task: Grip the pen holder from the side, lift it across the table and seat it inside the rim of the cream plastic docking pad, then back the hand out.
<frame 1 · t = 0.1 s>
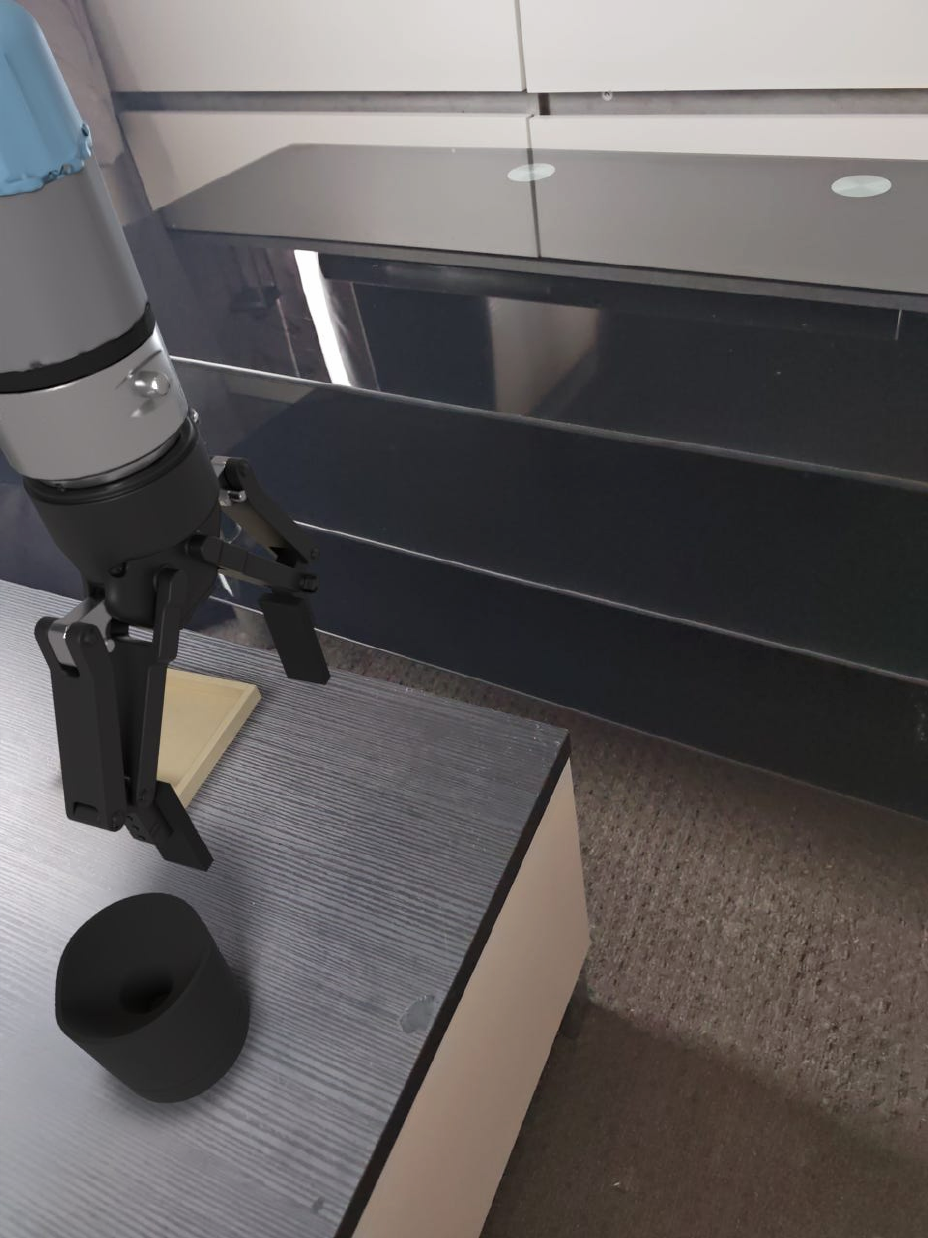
hand: (254, 761, 53), 19 cm above the table, tool pointing down, fingers open, 13 cm apart
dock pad: (168, 739, 81), on the table
pen holder: (188, 1038, 61), on the table
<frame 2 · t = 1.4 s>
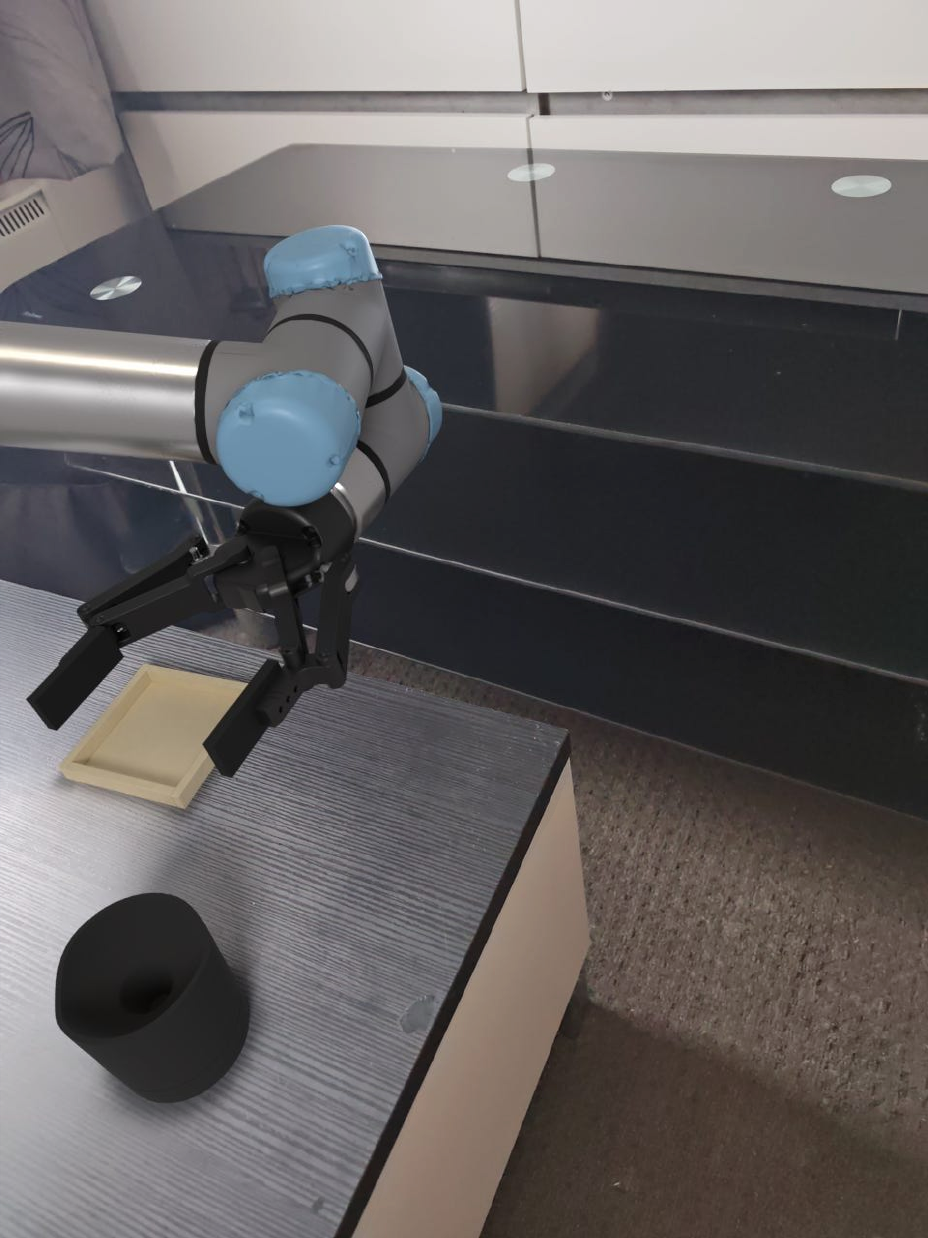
hand: (123, 737, 52), 21 cm above the table, tool horizontal, fingers open, 13 cm apart
nothing on the table moved.
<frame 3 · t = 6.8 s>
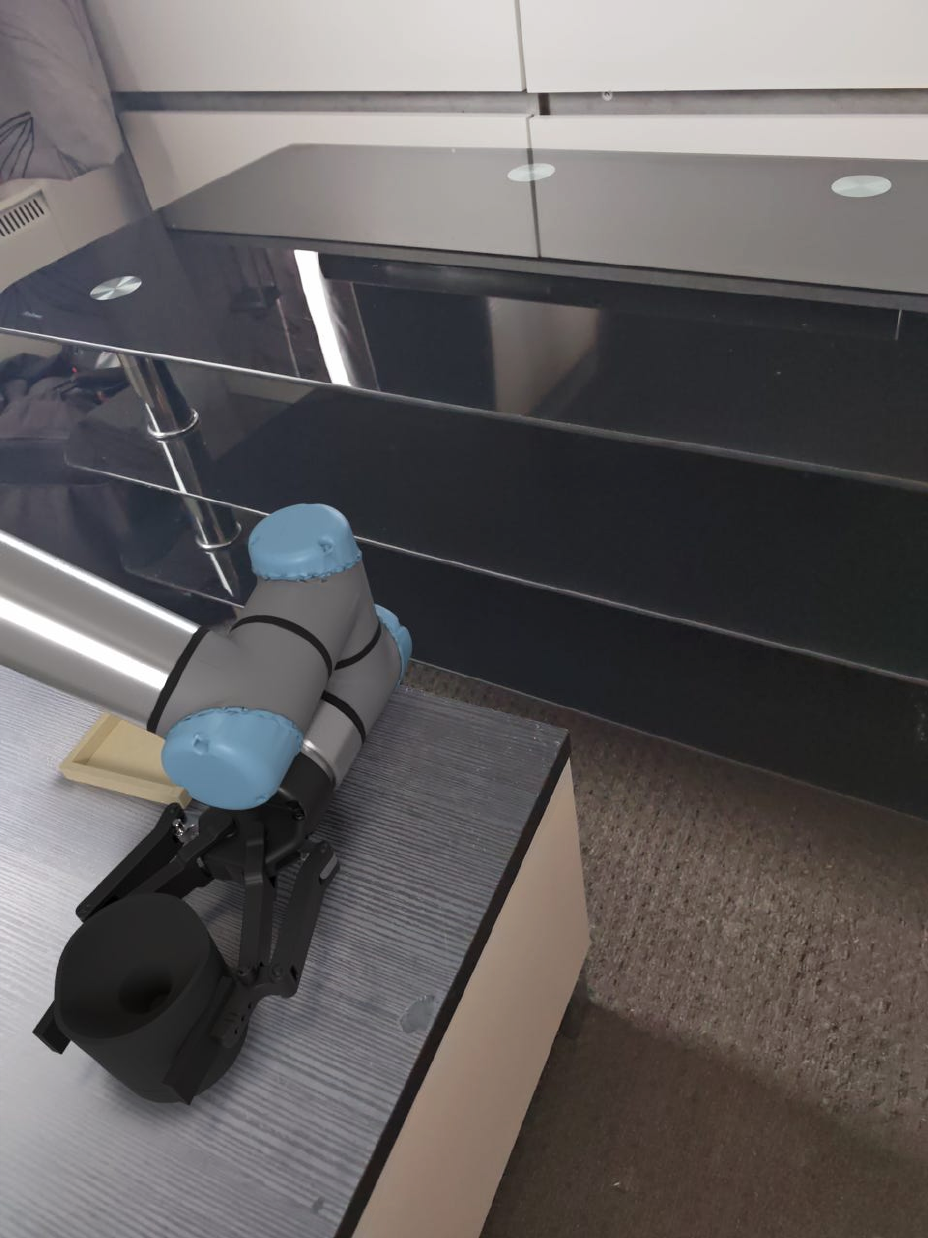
hand: (109, 1068, 54), 6 cm above the table, tool horizontal, fingers closed on pen holder, 9 cm apart
pen holder: (188, 1038, 61), on the table, touching gripper
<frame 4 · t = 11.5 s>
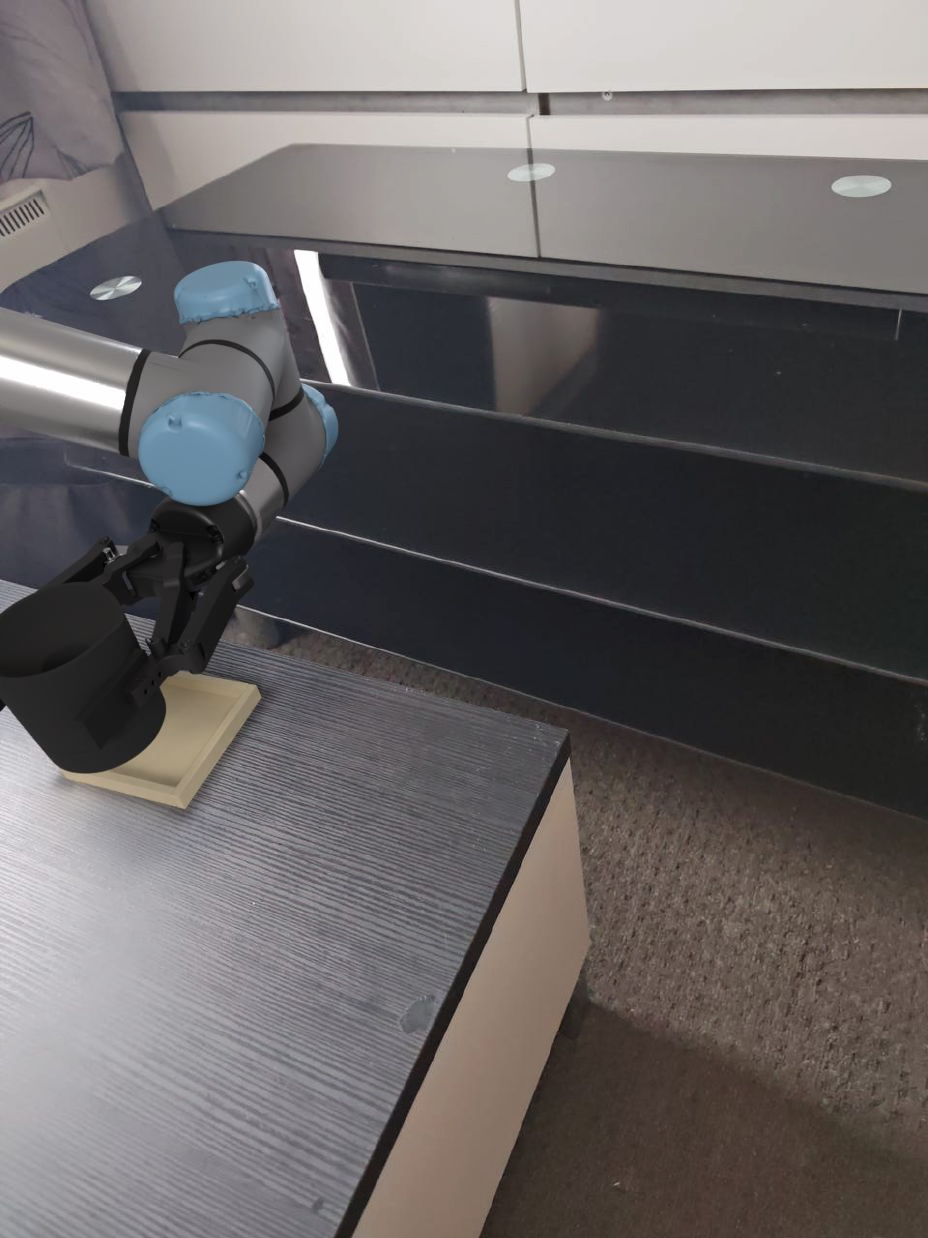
hand: (30, 721, 59), 18 cm above the table, tool horizontal, fingers closed on pen holder, 9 cm apart
pen holder: (111, 731, 66), point 12 cm above the table, touching gripper
when the fingers open (6 cm above the table, at t = 16.4 s): pen holder stays where it is, resting on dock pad.
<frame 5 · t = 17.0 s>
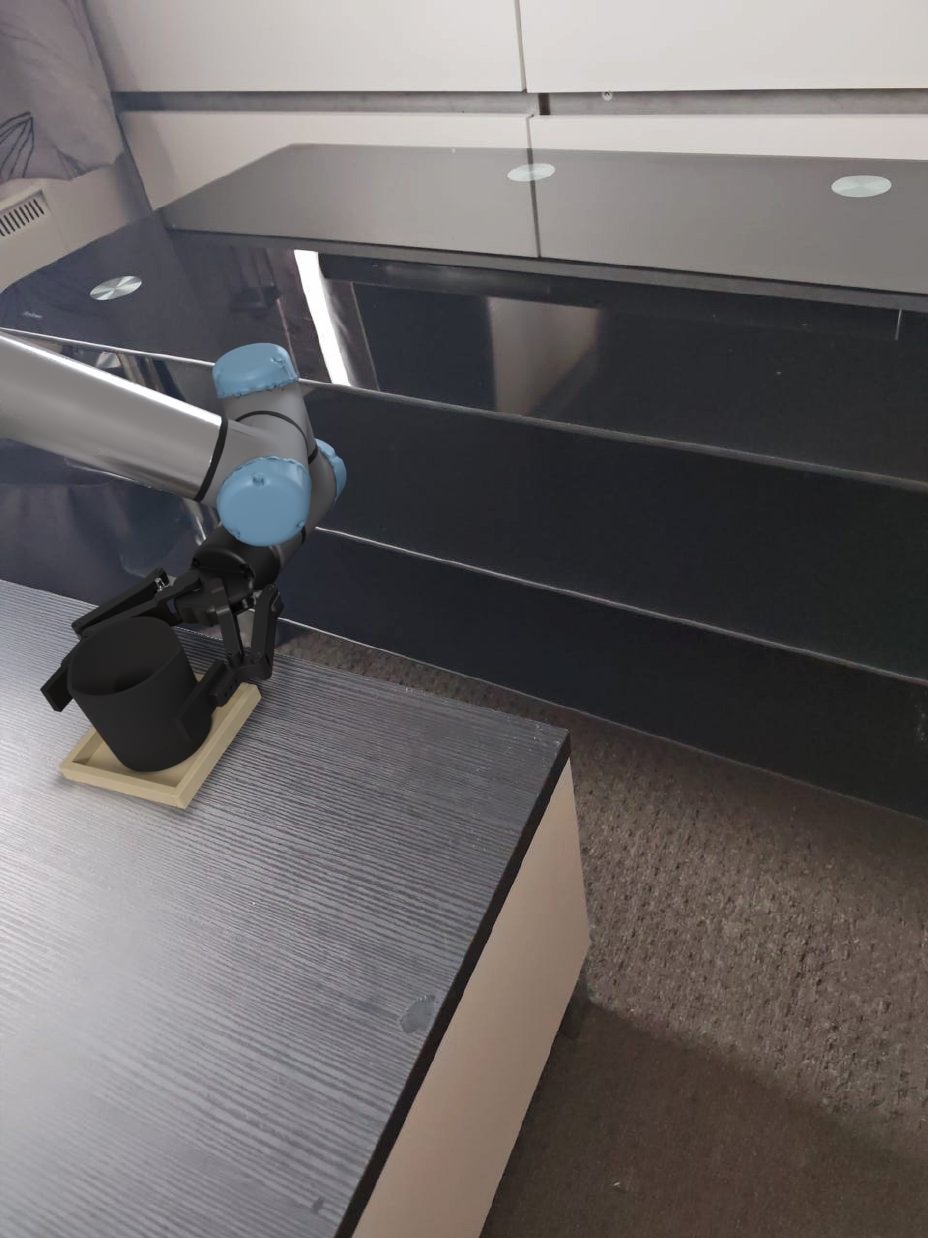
hand: (113, 715, 74), 7 cm above the table, tool horizontal, fingers open, 13 cm apart
pen holder: (166, 737, 81), resting on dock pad
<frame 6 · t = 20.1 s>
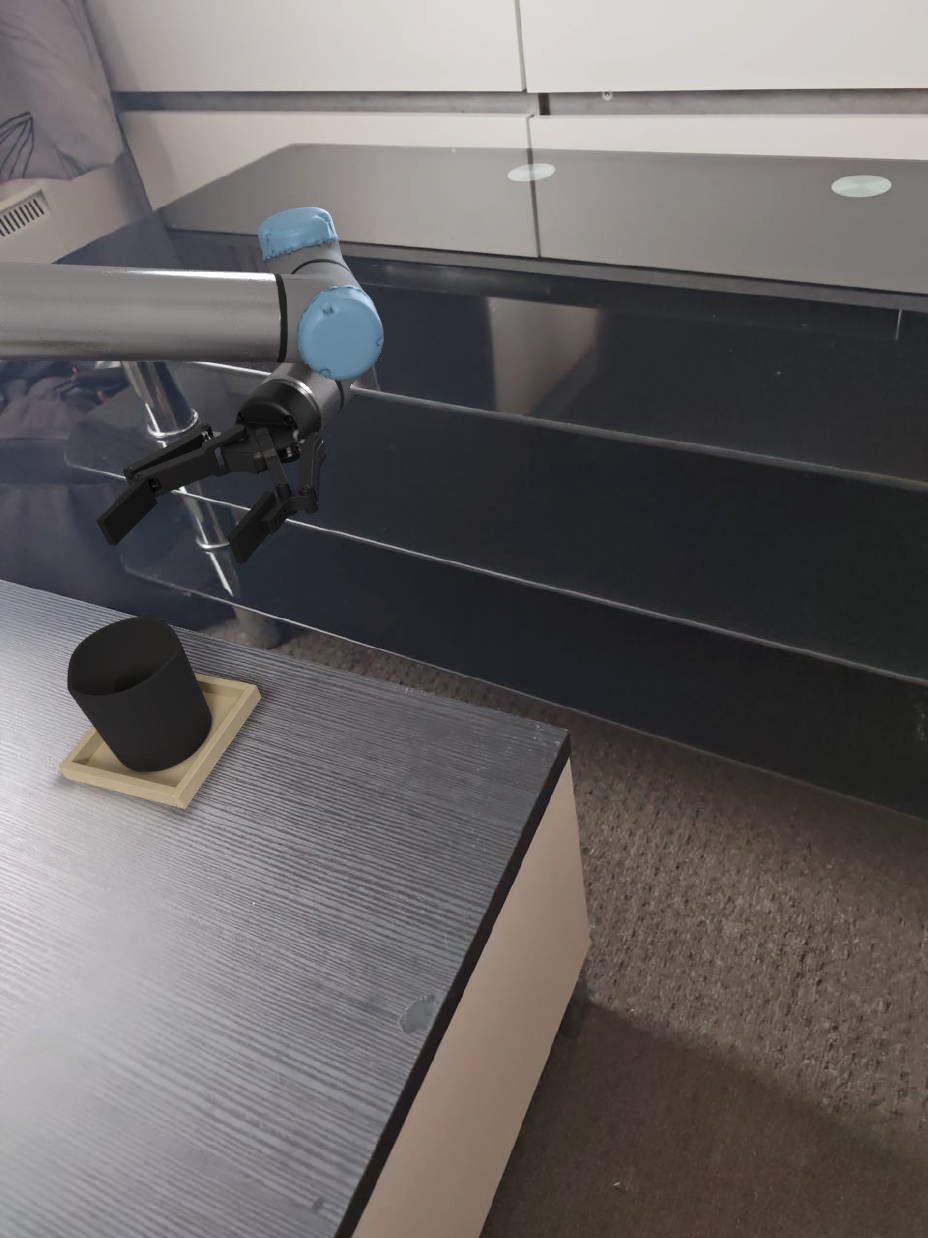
hand: (168, 541, 78), 15 cm above the table, tool horizontal, fingers open, 13 cm apart
nothing on the table moved.
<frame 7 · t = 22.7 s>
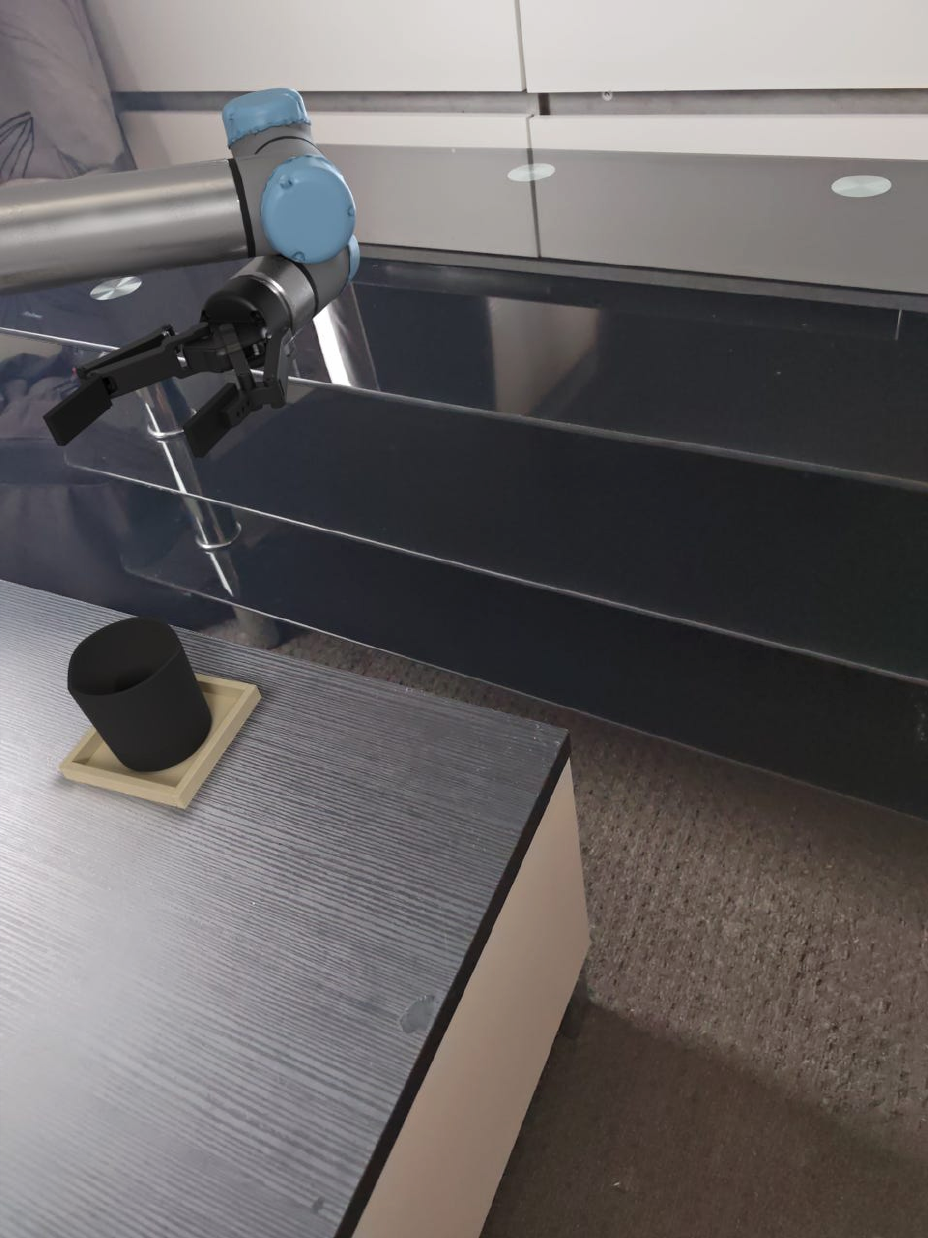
hand: (120, 437, 71), 25 cm above the table, tool horizontal, fingers open, 13 cm apart
nothing on the table moved.
at the end: pen holder 0.0 cm off-centre in the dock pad, point 0.3 cm above the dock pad's base; pen holder tilted 0°; the gripper is holding nothing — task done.
